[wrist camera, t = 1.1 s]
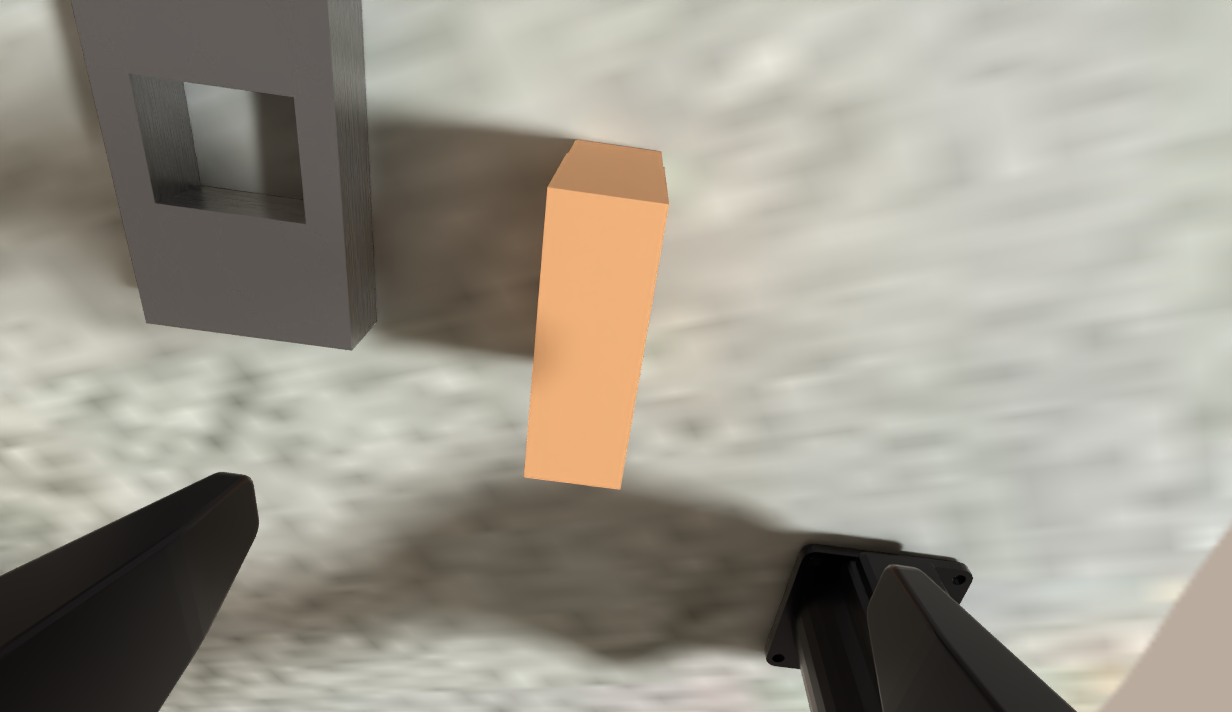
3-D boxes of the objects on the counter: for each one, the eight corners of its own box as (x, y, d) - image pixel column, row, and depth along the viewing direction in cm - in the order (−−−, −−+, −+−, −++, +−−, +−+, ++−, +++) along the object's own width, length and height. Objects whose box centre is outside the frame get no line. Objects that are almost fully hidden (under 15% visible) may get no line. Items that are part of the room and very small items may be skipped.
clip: (626, 371, 21) (620, 489, 16) (554, 361, 21) (523, 476, 16) (661, 147, 18) (669, 204, 13) (576, 135, 18) (547, 187, 13)
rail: (376, 321, 21) (352, 350, 19) (189, 296, 21) (147, 323, 19) (342, -376, 13) (297, -435, 12) (48, -424, 13) (-45, -491, 11)
